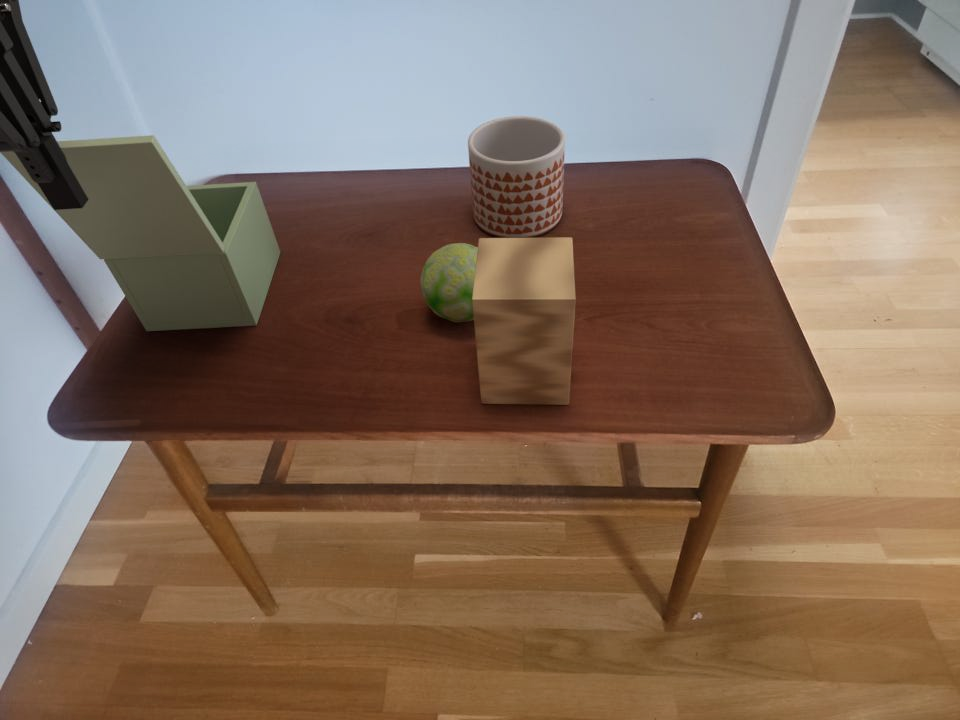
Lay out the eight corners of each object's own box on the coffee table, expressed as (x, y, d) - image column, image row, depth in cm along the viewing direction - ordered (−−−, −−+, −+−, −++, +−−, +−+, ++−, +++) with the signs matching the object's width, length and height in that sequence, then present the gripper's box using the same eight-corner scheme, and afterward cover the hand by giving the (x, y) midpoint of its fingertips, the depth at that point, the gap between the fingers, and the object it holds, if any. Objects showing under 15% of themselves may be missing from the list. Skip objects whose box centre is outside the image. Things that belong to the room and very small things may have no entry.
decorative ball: (416, 333, 83) (405, 272, 76) (437, 284, 90) (429, 223, 82) (491, 343, 81) (487, 281, 74) (507, 291, 88) (505, 230, 80)
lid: (2, 144, 63) (-1, 151, 62) (154, 134, 62) (152, 142, 62) (102, 252, 77) (99, 259, 77) (224, 246, 77) (223, 252, 76)
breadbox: (182, 257, 97) (148, 188, 89) (280, 252, 97) (255, 181, 88) (146, 331, 86) (103, 260, 78) (256, 325, 86) (225, 253, 77)
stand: (481, 403, 74) (471, 299, 63) (486, 342, 81) (478, 237, 70) (568, 405, 73) (575, 299, 62) (566, 342, 80) (572, 236, 69)
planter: (579, 223, 97) (584, 145, 88) (498, 251, 94) (495, 173, 85) (534, 181, 106) (534, 106, 97) (459, 206, 102) (451, 130, 93)
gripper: (-116, -74, 39) (82, 244, 56) (-8, -120, 48) (134, 166, 65) (-235, -65, 39) (-2, 249, 56) (-105, -113, 48) (62, 170, 65)
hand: (71, 204), depth 61 cm, fingers closed
